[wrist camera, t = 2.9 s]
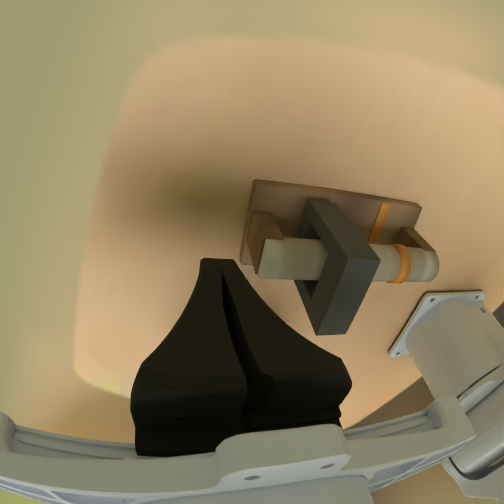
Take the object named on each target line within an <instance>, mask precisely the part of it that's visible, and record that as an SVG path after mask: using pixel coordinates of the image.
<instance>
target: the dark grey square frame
mask: <svg viewBox="0 0 504 504" xmlns="http://www.w3.org/2000/svg"><path fill="white" fill-rule="evenodd" d="M298 238H301V239H315V240H322V242H323V244H324V245H325V247H326V249H327V250H328V252H329V253H328V256H327V258H326V261H325V264H324V267H323V270H322V272H321V275H320V278H319V280H294V282H295V284H296V287H297V289H298V292H299V294H300V297H301V299H302V302H303V304H304V307H305V309H306V312H307V314H308V317H309V319H310V322H311V324H312V327H313V329H314V332H315V334H316V336H318V335H337V334H346V332H347V330H348V328H349V326H350V325H351V323H352V321H353V319H354V317H355V315H356V313H357V311H358V309H359V307H360V305H361V303H362V301H363V299H364V297H365V294H366V292H367V290H368V288H369V286H370V284H371V282H372V280H373V277H374V275H375V273H376V271H377V269H378V266H379V264H380V262H381V259H380V258H379V257H378V255H377V254H376V253H375V251H374V250H373V249H372V248H371V246H370V245H369V244H368V242H367V241H366V240H365V239H364V237H363V236H362V235H361V233H360V232H359V231H358V230H357V228H356V227H355V226H354V225H353V223H352V222H351V221H350V220H349V218H348V217H347V216H346V215H345V214H344V212H343V211H342V210H341V209H340V208H339V206H338V205H337V204H336V203H331V202H323V201H314V200H308V204H307V207H306V211H305V215H304V218H303V222H302V225H301V229H300V232H299V236H298Z"/></svg>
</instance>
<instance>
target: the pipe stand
mask: <svg viewBox="0 0 504 504" xmlns="http://www.w3.org/2000/svg"><path fill="white" fill-rule="evenodd" d="M308 200H314V201H323V202H331V203H336V204H337V205H338V206H339V208H340V209H341V210H342V211H343V212H344V214H345V215H346V216H347V217H348V218H349V220H350V221H351V222H352V223H353V225H354V226H355V227H356V228H357V230H358V231H359V232H360V233H361V235H362V236H363V237H364V239H365V240H366V241H367V242H368V244H369V245H370V246H371V248H372V249H373V250H374V251H375V253H376V254H377V255H378V257H379V258H380V259H381V262H380V264H379V266H378V269H377V271H376V273H375V275H374V277H373V280H372V281H385V282H387V283H402V282H429V281H432V280H433V279H434V278H435V277H436V276H437V274H438V271H439V258H438V256H437V254H436V251H435V250H434V249H433V248H432V247H431V246H430V245H429V244H428V243H427V242H426V241H425V240H424V239H423V238H422V237H421V236H420V235H419V234H418V233H417V231H416V230H415V229H414V227H415V224H416V222H417V220H418V217H419V215H420V212H421V210H422V208H421V207H420V206H419V205H418V204H416V203H410V202H405V201H400V200H394V199H389V198H383V197H377V196H371V195H365V194H359V193H353V192H346V191H340V190H333V189H326V188H319V187H312V186H304V185H296V184H288V183H280V182H272V181H263V180H254V186H253V191H252V196H251V201H250V206H249V212H248V217H247V222H246V228H245V233H244V238H243V244H242V249H241V254H240V262H241V264H244V265H253V266H254V270H255V274H258V276H259V278H260V279H289V280H319V278H320V275H321V272H322V270H323V267H324V264H325V261H326V258H327V256H328V253H329V252H328V250H327V249H326V247H325V245H324V244H323V242H322V240H315V239H301V238H298V236H299V232H300V229H301V225H302V222H303V218H304V215H305V211H306V207H307V204H308Z"/></svg>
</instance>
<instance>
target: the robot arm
mask: <svg viewBox="0 0 504 504" xmlns="http://www.w3.org/2000/svg"><path fill="white" fill-rule="evenodd" d="M484 297H485V292H484V291H471V292H447V293H427V294H425V295H424V296H423V298H422V299H421V301H420V303H419V305H418V306H417V308H416V310H415V311H414V313H413V315H412V316H411V318H410V320H409V321H408V323H407V324H406V326H405V328H404V329H403V331H402V332H401V334H400V336H399V337H398V339H397V340H396V342H395V343H394V345H393V346H392V348H391V349H390V351H389V353H388V355H389V356H390V357H396V356H402V355H409V354H410V355H411V357H412V358H413V360H414V362H415V364H416V366H417V367H418V369H419V371H420V373H421V375H422V376H423V378H424V380H425V382H426V384H427V385H428V387H429V389H430V391H431V393H432V395H433V397H434V399H435V401H433V402H432V403H431V404H430V405H429V406H428V407H427V408H426V410H423V411H420V412H417V413H414V414H410V415H407V416H403V417H400V418H396V419H392V420H389V421H385V422H381V423H377V424H373V425H368V426H364V427H360V428H355V429H350V430H345V431H343V429H342V426H341V423H340V421H339V418H340V417H341V412H340V409H339V405H340V404H341V403H342V401H343V400H344V399H345V397H346V396H347V395H348V393H349V391H350V389H351V387H352V381H351V378H350V376H349V373H348V371H347V369H346V367H345V365H344V363H343V361H342V359H341V358H339V357H337V356H335V355H333V354H331V353H329V352H327V351H325V350H324V349H322V348H320V347H318V346H317V345H315V344H313V343H312V342H310V341H309V340H307V339H306V338H304V337H303V336H301V335H300V334H299V333H297V332H296V331H295V330H294V329H292V328H291V327H290V326H288V325H287V324H286V323H285V322H284V321H283V320H282V319H280V318H279V317H278V316H277V315H276V314H275V313H274V312H273V311H272V310H271V309H270V308H269V307H268V306H267V304H266V303H265V302H264V301H263V300H262V299H261V297H260V296H259V295H258V294H257V292H256V291H255V290H254V289H253V287H252V286H251V285H250V283H249V282H248V280H247V279H246V278H245V276H244V275H243V273H242V272H241V270H240V268H239V267H238V265H237V264H236V262H235V261H234V260H233V259H214V258H203V259H201V261H200V271H199V276H198V279H197V282H196V285H195V288H194V290H193V293H192V295H191V297H190V299H189V301H188V303H187V305H186V307H185V309H184V311H183V313H182V314H181V316H180V318H179V319H178V321H177V322H176V324H175V325H174V327H173V328H172V330H171V331H170V333H169V334H168V335H167V336H166V338H165V339H164V340H163V341H162V342H161V344H160V345H159V346H158V347H157V348H156V349H155V350H154V351H153V352H152V353H151V354H150V355H149V356H148V357H147V358H146V359H145V360H144V361H143V362H142V364H141V366H140V368H139V371H138V373H137V375H136V378H135V381H134V384H133V387H132V392H131V405H130V409H131V410H130V411H131V414H132V418H133V421H134V425H135V444H130V443H119V442H109V441H101V440H93V439H86V438H79V437H72V436H67V435H61V434H56V433H51V432H45V431H41V430H36V429H32V428H28V427H24V426H20V425H15V424H14V422H13V420H12V419H11V418H10V417H9V416H8V415H6V414H5V413H2V412H0V488H1V489H4V490H6V491H9V492H12V493H15V494H18V495H22V496H24V497H28V498H31V499H34V500H38V501H41V502H44V503H47V504H374V502H373V499H372V497H371V493H370V492H372V491H375V490H377V489H380V488H383V487H385V486H388V485H390V484H393V483H395V482H398V481H400V480H402V479H404V478H407V477H409V476H411V475H414V474H416V473H418V472H420V471H422V470H425V469H427V468H429V467H431V466H433V465H436V464H438V463H440V462H441V464H442V466H443V467H444V469H445V470H446V471H447V473H448V474H450V476H452V477H453V478H454V480H455V481H456V482H457V484H458V485H459V487H460V489H461V491H462V492H463V493H464V495H465V496H467V497H474V498H488V499H497V500H499V502H500V504H504V459H503V460H501V461H500V462H498V463H497V464H495V465H493V466H490V467H488V466H489V465H491V464H492V463H493V462H495V461H496V460H498V459H499V458H500V457H502V456H503V455H504V329H503V328H502V326H501V325H500V324H499V322H498V321H497V320H496V319H495V317H494V316H493V315H492V313H491V312H490V311H489V310H488V308H487V307H486V306H485V305H484V303H483V302H482V300H483V298H484Z"/></svg>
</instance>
